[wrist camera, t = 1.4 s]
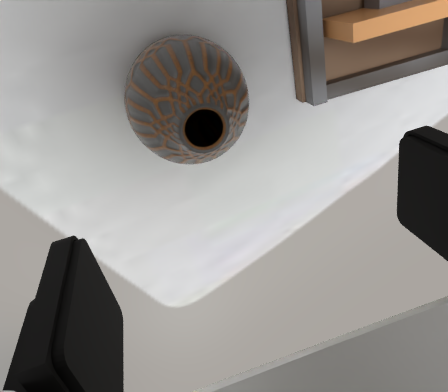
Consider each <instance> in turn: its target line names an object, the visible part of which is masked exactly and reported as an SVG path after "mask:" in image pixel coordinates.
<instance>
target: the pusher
mask: <svg viewBox="0 0 448 392" xmlns="http://www.w3.org/2000/svg"><path fill="white" fill-rule="evenodd" d="M446 17H448V0H364V8H361V9H357V10H354V11H350V12H346V13H342V14H339V15H335V16H331V17H328V18H324V19H322V20H323V36H324V37H327V38H332V39H336V40H341V41H346V42H350V43H356V42H359V41H363V40H367V39H370V38H374V37H377V36H381V35H385V34H388V33H392V32H395V31H399V30H403V29H406V28H410V27H413V26H417V25H421V24H424V23H428V22H431V21H435V20H439V19H442V18H446Z"/></svg>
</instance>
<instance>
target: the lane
mask: <svg viewBox="0 0 448 392" xmlns="http://www.w3.org/2000/svg"><path fill="white" fill-rule="evenodd" d="M361 8H364V0H287V10H288V20H289V29H290V39H291V48H292V58H293V67H294V77H295V87H296V96H297V99H298V100H299V101H301V102H308V103H309V104H311V105H313V106H316V105H319V104H322V103H326V102H327V100H328V99H332V98H335V97H338V96H342V95H345V94H349V93H352V92H355V91H359V90H362V89H366V88H369V87H372V86H376V85H379V84H383V83H386V82H390V81H393V80H396V79H400V78H403V77H407V76H410V75H413V74H417V73H420V72H424V71H427V70H430V69H434V68H437V67H441V66H444V65H448V17H446V18H442V19H439V20H435V21H431V22H428V23H424V24H421V25H417V26H413V27H410V28H406V29H403V30H399V31H395V32H392V33H388V34H385V35H381V36H377V37H374V38H370V39H367V40H363V41H359V42H356V43H350V42H346V41H341V40H336V39H332V38H327V37H324V36H323V20H322V19H324V18H328V17H331V16H335V15H339V14H342V13H346V12H350V11H354V10H357V9H361Z"/></svg>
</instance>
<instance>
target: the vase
mask: <svg viewBox="0 0 448 392" xmlns="http://www.w3.org/2000/svg"><path fill="white" fill-rule="evenodd" d="M125 108H126V113H127V117H128V120H129V122H130V125H131V127H132V129H133V130H134V132H135V134H136V135H137V137H138V138H139V139H140V141H141V142H142V143H143V144H144V145H145V146H146V147H147V148H148V149H150V150H151V151H152V152H154V153H155V154H157V155H158V156H160V157H162V158H164V159H166V160H169V161H172V162H176V163H180V164H199V163H204V162H208V161H210V160H213V159H215V158H217V157H219V156H221V155H222V154H224V153H225V152H226V151H227V150H229V149H230V148H231V147H232V146H233V145H234V143H235V142H236V141H237V139H238V138H239V136H240V135H241V133H242V131H243V129H244V126H245V124H246V121H247V116H248V110H249V96H248V89H247V85H246V81H245V78H244V76H243V74H242V72H241V70H240V68H239V66H238V65H237V63H236V62H235V60H234V59H233V58H232V57H231V56H230V55H229V54H228V53H227V52H226V51H225V50H224V49H222V48H221V47H220V46H218V45H217V44H215V43H213V42H211V41H209V40H207V39H204V38H201V37H197V36H192V35H175V36H170V37H166V38H163V39H161V40H158V41H156V42H155V43H153V44H151V45H150V46H149V47H147V48H146V49H145V50H144V51H143V52H142V53H141V54H140V55H139V56H138V57H137V59H136V60H135V62H134V63H133V65H132V67H131V69H130V72H129V74H128V77H127V81H126V86H125Z"/></svg>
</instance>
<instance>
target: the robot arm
mask: <svg viewBox="0 0 448 392" xmlns="http://www.w3.org/2000/svg"><path fill="white" fill-rule="evenodd" d="M397 217H398V219H399V221H400V223H401V224H402V225H403V226H404V227H405V228H407V229H408V230H409V231H410V232H412V233H413V234H414V235H416V236H417V237H418V238H419V239H421V240H422V241H423V242H424V243H426V244H427V245H428V246H429V247H431V248H432V249H433V250H434V251H436V252H437V253H438V254H439V255H441V256H442V257H443V258H444V259H446V260H447V261H448V134H447V133H444V132H442V131H440V130H437V129H435V128H432V127H430V126H423V127H420V128H417V129H414V130H411V131H407V132H406V133H405V134H404V136H403V138H402V139H401V140H400V143H399V169H398V196H397ZM1 392H123V316H122V312H121V309H120V306H119V305H118V302H117V301H116V298H115V296H114V294H113V293H112V291H111V289H110V287H109V285H108V283H107V281H106V279H105V277H104V275H103V273H102V271H101V269H100V267H99V265H98V263H97V261H96V259H95V257H94V255H93V253H92V251H91V249H90V247H89V245H88V243H87V242H86V240H85V239H84V238H82V239H79V240H78V238H77V237H76V236H71V237H68V238H65V239H61V240H58V241H55V242H53V243H52V244H51V246H50V250H49V253H48V256H47V260H46V264H45V267H44V270H43V273H42V277H41V280H40V284H39V287H38V291H37V294H36V298H35V299H34V300H33V301H31V302H30V305H29V307H28V310H27V313H26V316H25V319H24V323H23V326H22V329H21V332H20V336H19V339H18V343H17V346H16V349H15V352H14V355H13V359H12V362H11V365H10V368H9V372H8V375H7V378H6V381H5V385H4V388H3V391H1ZM193 392H448V296H447V297H444V298H441V299H438V300H436V301H433V302H430V303H428V304H425V305H422V306H419V307H417V308H414V309H411V310H409V311H406V312H403V313H400V314H398V315H395V316H392V317H390V318H387V319H384V320H381V321H379V322H376V323H373V324H371V325H368V326H366V327H363V328H360V329H358V330H355V331H352V332H349V333H346V334H344V335H341V336H338V337H336V338H333V339H331V340H328V341H325V342H323V343H320V344H317V345H314V346H312V347H309V348H306V349H304V350H301V351H298V352H296V353H293V354H290V355H288V356H285V357H283V358H280V359H277V360H274V361H272V362H269V363H266V364H264V365H261V366H259V367H256V368H253V369H250V370H248V371H245V372H242V373H240V374H237V375H235V376H232V377H229V378H227V379H224V380H221V381H219V382H216V383H213V384H211V385H208V386H206V387H203V388H200V389H198V390H195V391H193Z"/></svg>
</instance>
